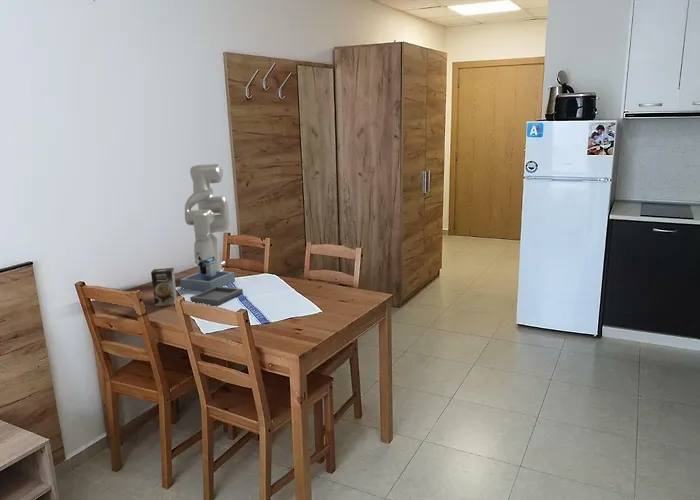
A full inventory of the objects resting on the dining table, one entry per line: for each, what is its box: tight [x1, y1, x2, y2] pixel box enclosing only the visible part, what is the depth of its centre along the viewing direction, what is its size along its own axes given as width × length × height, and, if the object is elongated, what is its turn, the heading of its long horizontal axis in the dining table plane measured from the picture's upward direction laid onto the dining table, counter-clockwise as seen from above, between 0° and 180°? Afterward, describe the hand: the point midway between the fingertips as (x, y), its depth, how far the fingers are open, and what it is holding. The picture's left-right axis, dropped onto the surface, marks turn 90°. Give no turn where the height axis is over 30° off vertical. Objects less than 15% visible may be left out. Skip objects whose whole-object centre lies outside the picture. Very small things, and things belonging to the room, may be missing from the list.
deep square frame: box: [179, 270, 236, 292], centre depth 273 cm, size 19×19×5 cm
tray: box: [189, 286, 244, 307], centre depth 251 cm, size 18×16×2 cm
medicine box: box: [197, 259, 216, 277], centre depth 272 cm, size 8×4×9 cm, turn 68°
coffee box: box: [150, 267, 178, 307], centre depth 245 cm, size 9×6×16 cm
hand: (207, 271), depth 273 cm, fingers closed on medicine box, 4 cm apart
